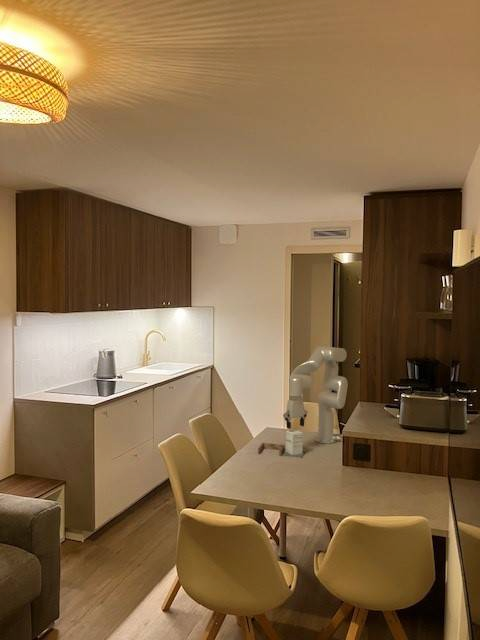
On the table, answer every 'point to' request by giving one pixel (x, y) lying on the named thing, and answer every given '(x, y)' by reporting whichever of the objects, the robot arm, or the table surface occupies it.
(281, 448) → the walnut cradle
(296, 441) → the supplement box
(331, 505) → the table surface
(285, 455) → the charcoal mat
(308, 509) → the table surface
